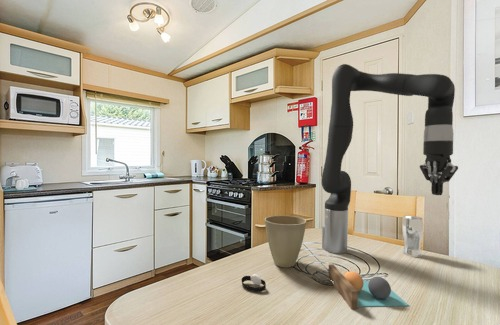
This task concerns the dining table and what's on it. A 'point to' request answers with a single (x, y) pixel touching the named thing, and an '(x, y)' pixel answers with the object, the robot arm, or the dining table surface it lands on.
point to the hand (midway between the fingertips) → (436, 194)
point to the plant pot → (285, 238)
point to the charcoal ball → (379, 287)
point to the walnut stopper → (343, 287)
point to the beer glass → (412, 235)
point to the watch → (255, 280)
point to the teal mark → (369, 300)
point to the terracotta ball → (354, 280)
